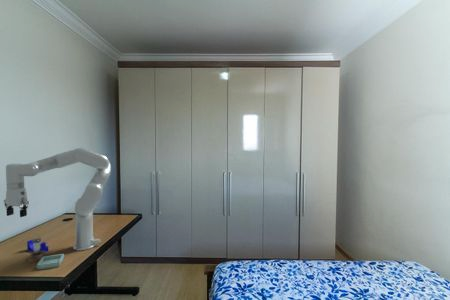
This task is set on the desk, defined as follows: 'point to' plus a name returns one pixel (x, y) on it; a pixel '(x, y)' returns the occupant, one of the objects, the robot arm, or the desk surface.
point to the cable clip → (31, 246)
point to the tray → (50, 261)
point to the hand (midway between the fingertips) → (16, 215)
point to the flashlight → (37, 246)
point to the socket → (36, 256)
